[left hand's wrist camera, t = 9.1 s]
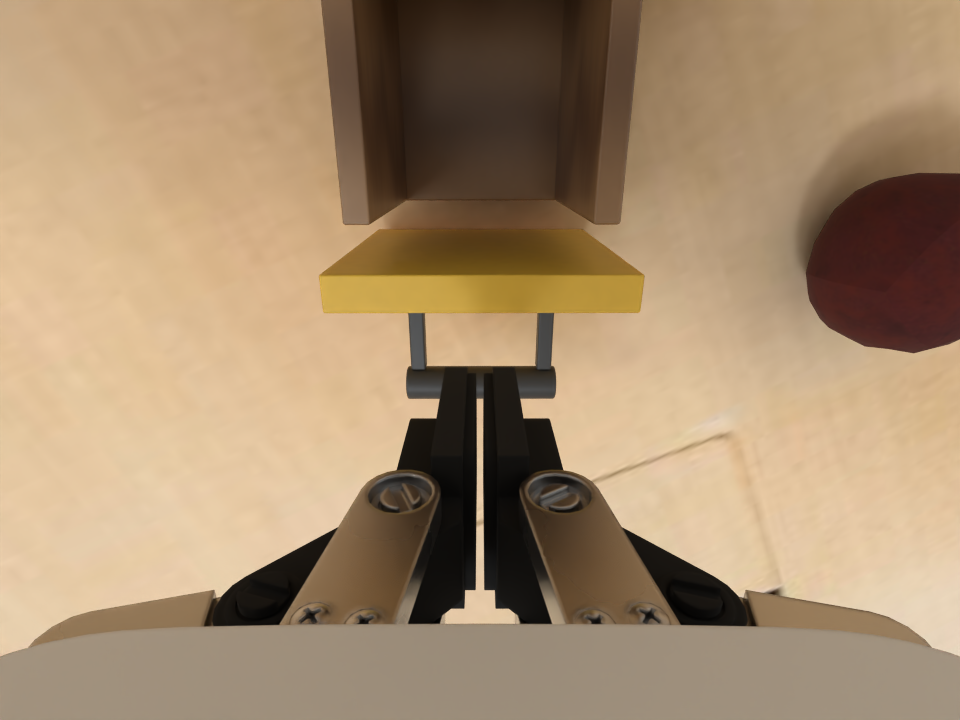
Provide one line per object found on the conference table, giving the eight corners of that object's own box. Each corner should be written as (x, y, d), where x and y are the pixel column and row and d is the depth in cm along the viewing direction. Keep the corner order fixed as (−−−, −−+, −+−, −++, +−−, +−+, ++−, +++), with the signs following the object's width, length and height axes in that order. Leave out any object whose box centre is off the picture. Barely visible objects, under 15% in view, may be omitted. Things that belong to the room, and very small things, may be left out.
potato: (965, 235, 25) (1137, 262, 18) (834, 350, 27) (946, 411, 21) (876, 131, 23) (1030, 121, 17) (743, 263, 26) (834, 299, 19)
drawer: (573, 354, 27) (623, 458, 18) (387, 354, 27) (340, 458, 18) (624, -330, 17) (784, -865, 8) (337, -330, 17) (179, -866, 8)
